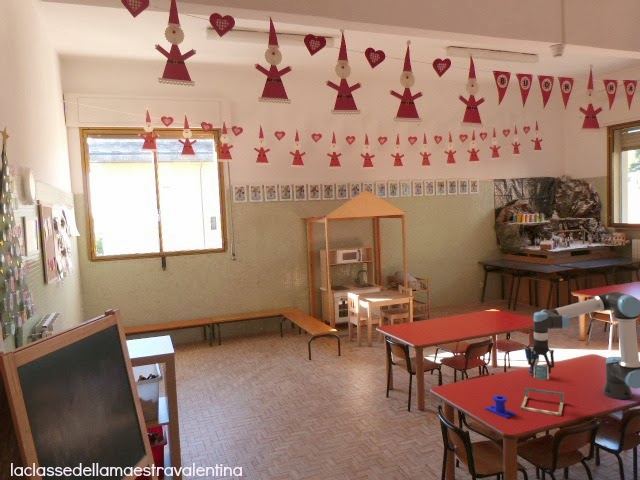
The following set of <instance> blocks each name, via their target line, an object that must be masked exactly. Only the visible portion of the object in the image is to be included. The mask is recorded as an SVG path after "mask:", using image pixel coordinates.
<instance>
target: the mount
mask: <svg viewBox="0 0 640 480" xmlns="http://www.w3.org/2000/svg"><path fill="white" fill-rule="evenodd" d="M492 400H493V401H494V404H492V405H490V406H486V407H484V408H485V409H484V410H485V411H487V410H488V411H487V412H490V413H493V414H495V415H498V416H500V417H501V418H505V419H511V417H514V416H515V417H516V416H517V413H516V412H513V411H510V410H508V409H506V402H508V398H507V397H506V396H504V395H497V394H496V395H493V396H492Z"/></svg>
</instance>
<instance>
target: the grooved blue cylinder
mask: <svg viewBox="0 0 640 480" xmlns="http://www.w3.org/2000/svg"><path fill="white" fill-rule="evenodd" d="M547 367H548V365H543V364H536V367H535V370H536V374H535V376H536V377H535V379H536V380H541V381H546V380H548V379H547Z"/></svg>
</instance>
